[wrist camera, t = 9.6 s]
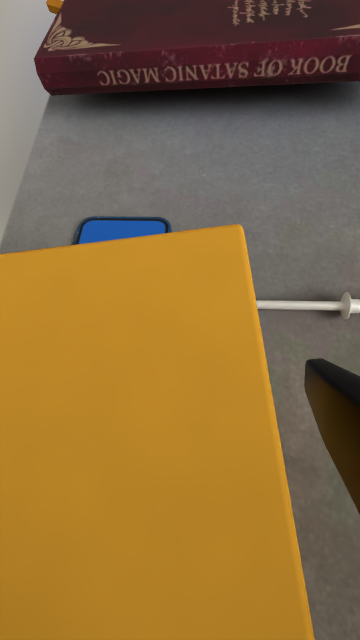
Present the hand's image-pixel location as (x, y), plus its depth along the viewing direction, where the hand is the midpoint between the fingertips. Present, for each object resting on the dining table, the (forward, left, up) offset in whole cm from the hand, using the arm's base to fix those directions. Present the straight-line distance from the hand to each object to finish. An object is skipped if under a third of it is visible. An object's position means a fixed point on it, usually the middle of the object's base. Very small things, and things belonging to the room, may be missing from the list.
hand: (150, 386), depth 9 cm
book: (+32, +11, -4) cm, 34 cm away
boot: (-3, -2, -8) cm, 9 cm away
